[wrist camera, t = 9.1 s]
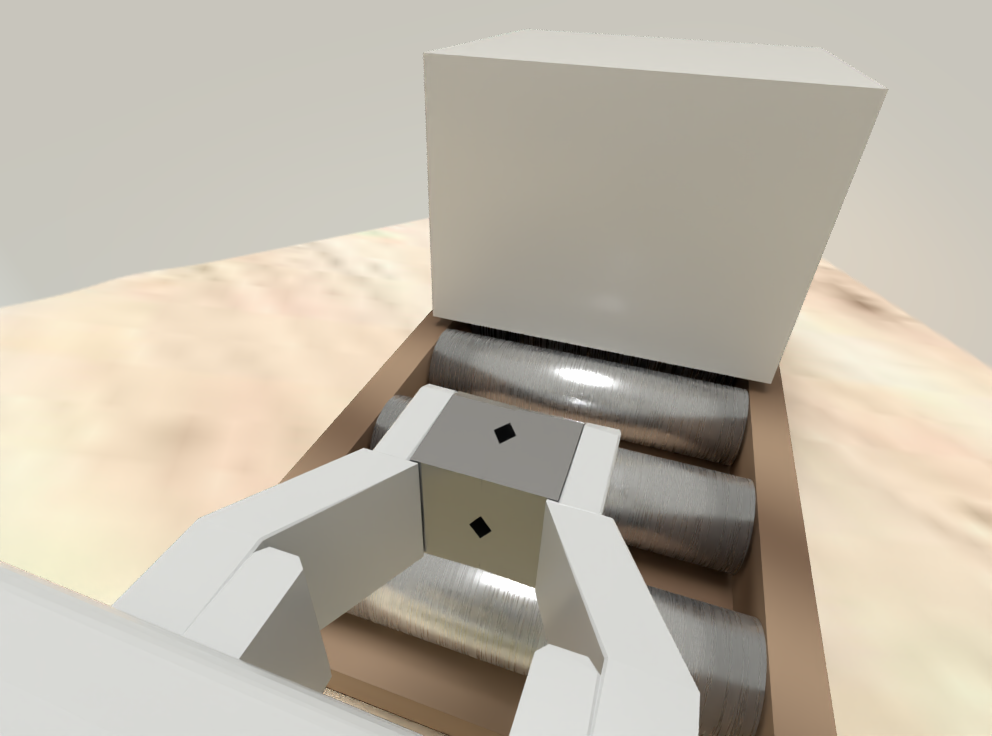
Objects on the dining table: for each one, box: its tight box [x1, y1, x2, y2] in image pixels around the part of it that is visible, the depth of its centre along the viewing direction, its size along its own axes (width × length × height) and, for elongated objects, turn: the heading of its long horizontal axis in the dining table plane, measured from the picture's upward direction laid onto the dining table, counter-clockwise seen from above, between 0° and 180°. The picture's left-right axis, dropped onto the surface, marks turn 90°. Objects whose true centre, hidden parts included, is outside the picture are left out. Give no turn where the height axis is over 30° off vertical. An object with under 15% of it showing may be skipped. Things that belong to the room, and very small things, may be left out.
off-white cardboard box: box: [423, 29, 888, 384], centre depth 20 cm, size 10×11×8 cm
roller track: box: [279, 310, 837, 736], centre depth 18 cm, size 22×12×7 cm, turn 162°
